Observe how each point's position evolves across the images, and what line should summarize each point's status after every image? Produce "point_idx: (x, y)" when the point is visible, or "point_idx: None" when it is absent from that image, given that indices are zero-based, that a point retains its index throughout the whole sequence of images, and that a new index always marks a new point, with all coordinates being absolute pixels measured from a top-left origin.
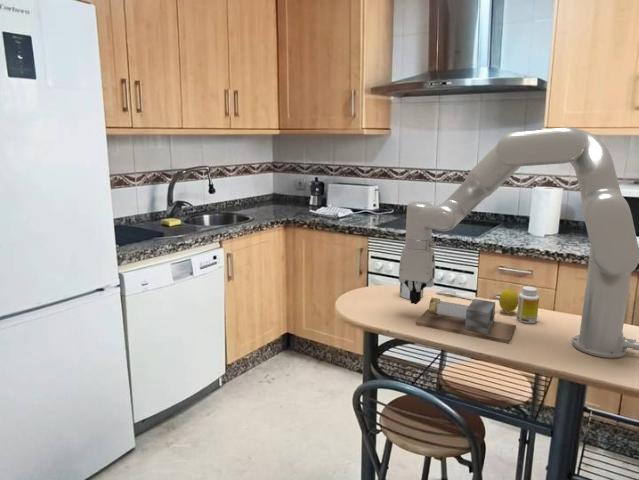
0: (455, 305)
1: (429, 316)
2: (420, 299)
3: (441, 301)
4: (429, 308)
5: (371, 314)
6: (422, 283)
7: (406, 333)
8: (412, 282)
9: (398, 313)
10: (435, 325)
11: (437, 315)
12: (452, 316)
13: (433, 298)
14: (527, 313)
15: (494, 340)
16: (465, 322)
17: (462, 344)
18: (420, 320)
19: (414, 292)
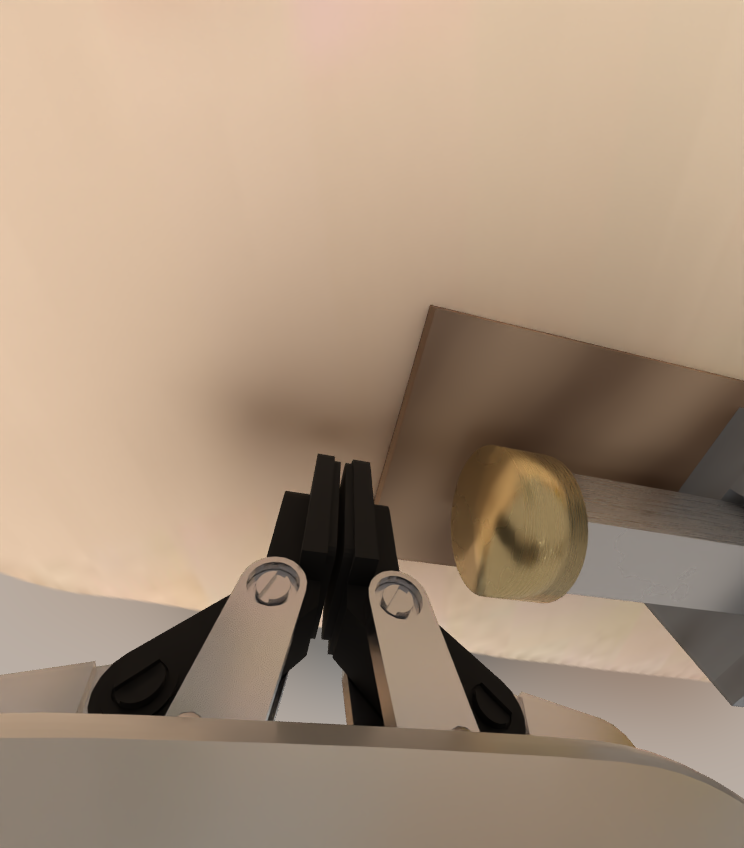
0: (687, 580)
1: (445, 459)
2: (387, 510)
3: (590, 534)
4: (461, 567)
5: (51, 474)
6: (437, 707)
7: None
8: (239, 681)
9: (218, 401)
10: None
11: (502, 424)
12: (606, 413)
13: (525, 585)
14: None
15: None
16: (659, 484)
17: (563, 643)
18: None
19: (323, 638)
